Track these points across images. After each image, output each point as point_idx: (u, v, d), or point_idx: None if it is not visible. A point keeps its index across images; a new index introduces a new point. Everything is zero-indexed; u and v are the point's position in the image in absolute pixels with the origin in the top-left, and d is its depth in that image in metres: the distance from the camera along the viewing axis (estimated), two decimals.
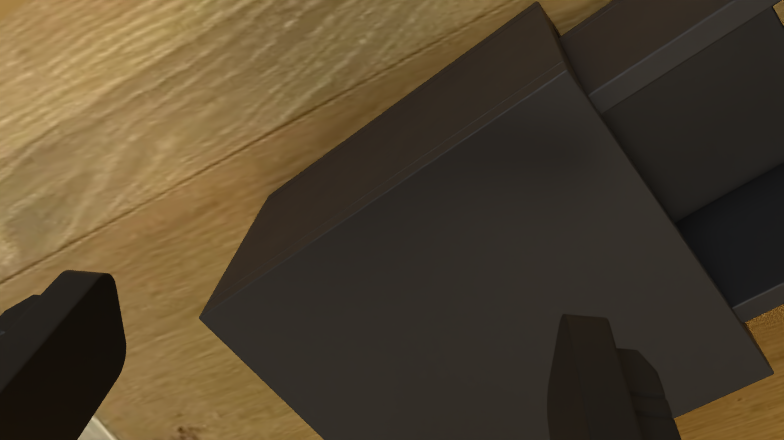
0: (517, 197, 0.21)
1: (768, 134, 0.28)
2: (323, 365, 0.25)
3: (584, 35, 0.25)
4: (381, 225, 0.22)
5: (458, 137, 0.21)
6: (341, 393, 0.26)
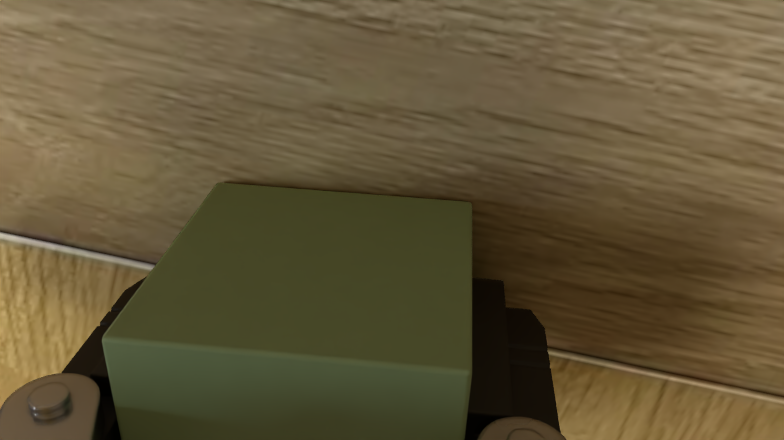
0: None
1: None
2: None
3: None
4: None
5: None
6: None
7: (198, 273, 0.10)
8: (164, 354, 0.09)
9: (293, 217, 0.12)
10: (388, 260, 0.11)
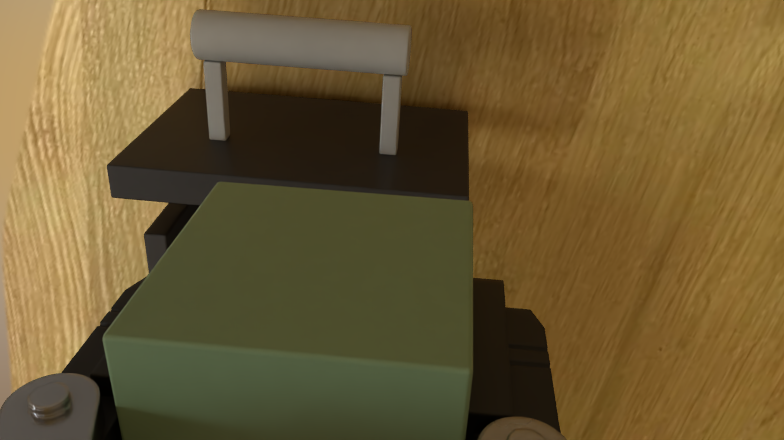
0: None
1: None
2: None
3: None
4: None
5: None
6: None
7: (198, 272, 0.10)
8: (165, 352, 0.09)
9: (294, 216, 0.12)
10: (389, 259, 0.11)
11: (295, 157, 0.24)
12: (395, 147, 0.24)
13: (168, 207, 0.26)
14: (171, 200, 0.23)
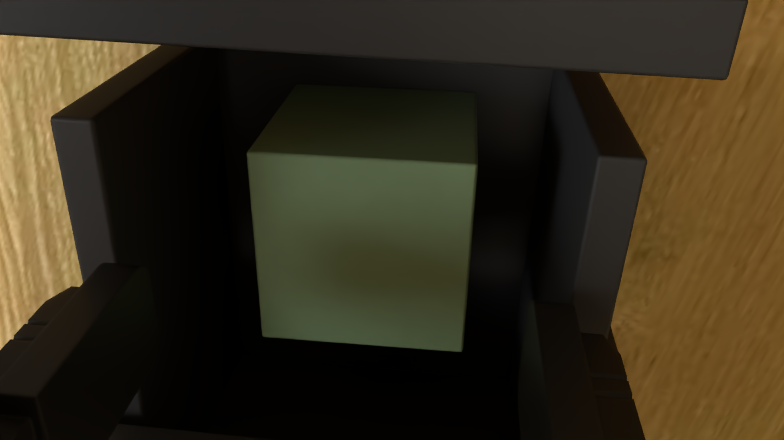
0: None
1: (487, 133, 0.18)
2: None
3: None
4: None
5: None
6: None
7: (298, 126, 0.15)
8: (286, 162, 0.14)
9: (353, 100, 0.17)
10: (421, 120, 0.16)
11: None
12: None
13: (108, 83, 0.14)
14: (96, 35, 0.11)
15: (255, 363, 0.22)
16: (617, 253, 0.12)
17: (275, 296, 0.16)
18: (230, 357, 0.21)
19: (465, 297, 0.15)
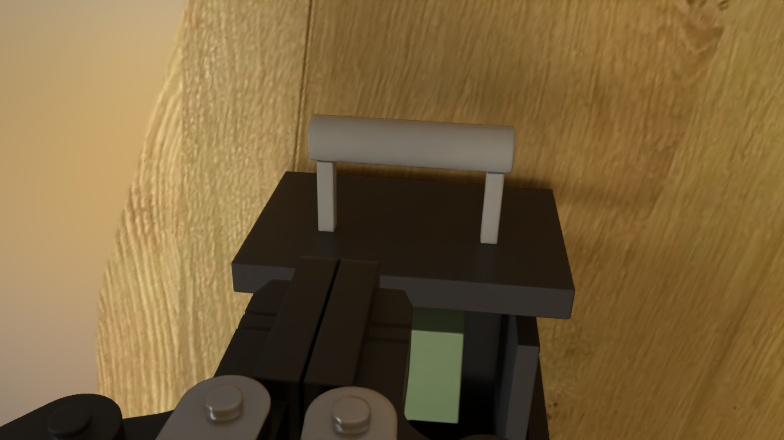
0: None
1: None
2: None
3: None
4: None
5: None
6: None
7: None
8: None
9: None
10: None
11: (402, 249, 0.25)
12: (496, 237, 0.26)
13: None
14: None
15: None
16: (529, 386, 0.25)
17: None
18: None
19: (459, 396, 0.29)
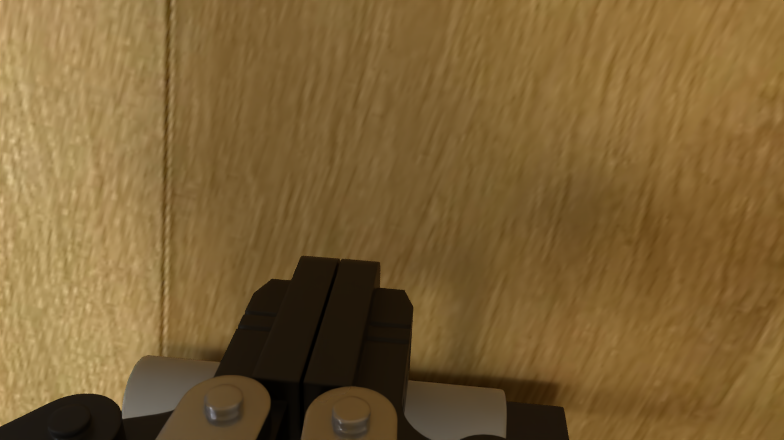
0: None
1: None
2: None
3: None
4: None
5: None
6: None
7: None
8: None
9: None
10: None
11: None
12: None
13: None
14: None
15: None
16: None
17: None
18: None
19: None
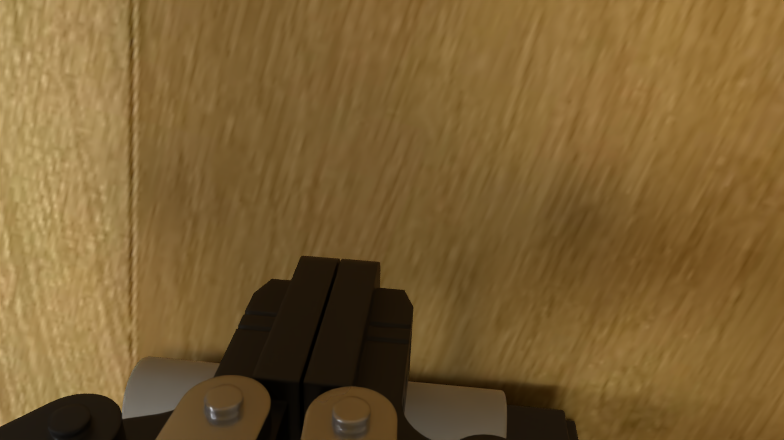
0: None
1: None
2: None
3: None
4: None
5: None
6: None
7: None
8: None
9: None
10: None
11: None
12: None
13: None
14: None
15: None
16: None
17: None
18: None
19: None
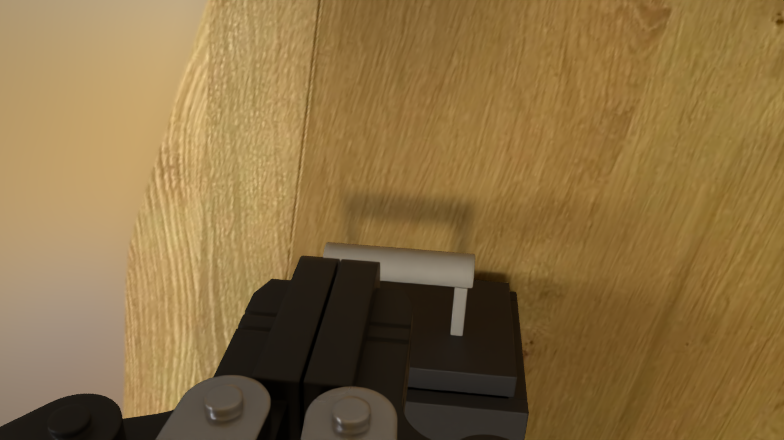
0: None
1: None
2: None
3: None
4: None
5: None
6: None
7: None
8: None
9: None
10: None
11: None
12: (462, 331, 0.34)
13: None
14: None
15: None
16: None
17: None
18: None
19: None
